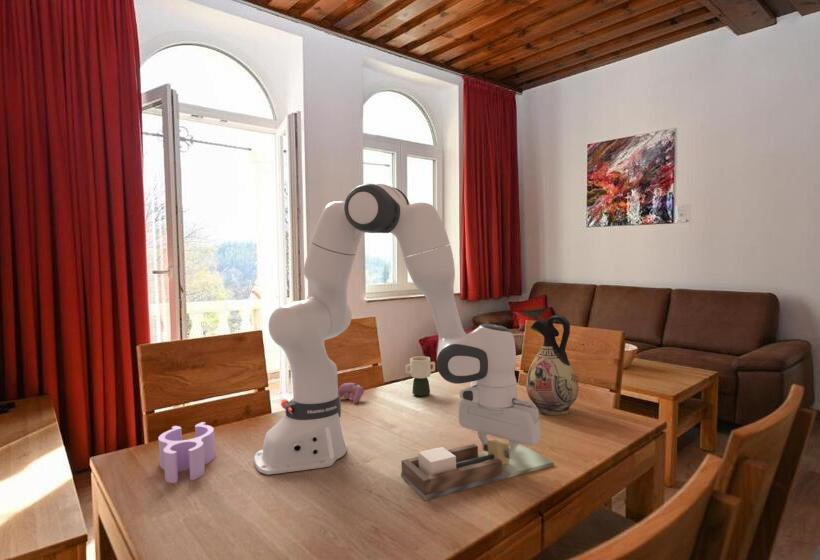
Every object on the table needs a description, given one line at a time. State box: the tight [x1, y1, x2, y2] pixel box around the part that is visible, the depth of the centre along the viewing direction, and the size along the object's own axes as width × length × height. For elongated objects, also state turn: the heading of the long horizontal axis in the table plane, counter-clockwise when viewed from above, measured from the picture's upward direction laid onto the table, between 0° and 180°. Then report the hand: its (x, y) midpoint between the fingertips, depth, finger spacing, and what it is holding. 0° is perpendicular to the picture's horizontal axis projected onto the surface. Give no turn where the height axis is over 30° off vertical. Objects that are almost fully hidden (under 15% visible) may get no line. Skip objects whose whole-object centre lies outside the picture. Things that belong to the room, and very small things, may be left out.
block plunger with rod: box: [417, 438, 510, 476], centre depth 109 cm, size 20×6×5 cm, turn 115°
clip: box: [158, 421, 216, 484], centre depth 119 cm, size 20×12×7 cm, turn 20°
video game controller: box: [338, 382, 365, 405], centre depth 168 cm, size 10×5×7 cm, turn 58°
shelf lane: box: [400, 443, 555, 501], centre depth 110 cm, size 33×12×4 cm, turn 115°
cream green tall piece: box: [405, 355, 436, 397], centre depth 171 cm, size 11×7×13 cm, turn 107°
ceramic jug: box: [525, 314, 580, 416], centre depth 148 cm, size 17×15×30 cm
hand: (498, 454), depth 112 cm, fingers closed on block plunger with rod, 5 cm apart
